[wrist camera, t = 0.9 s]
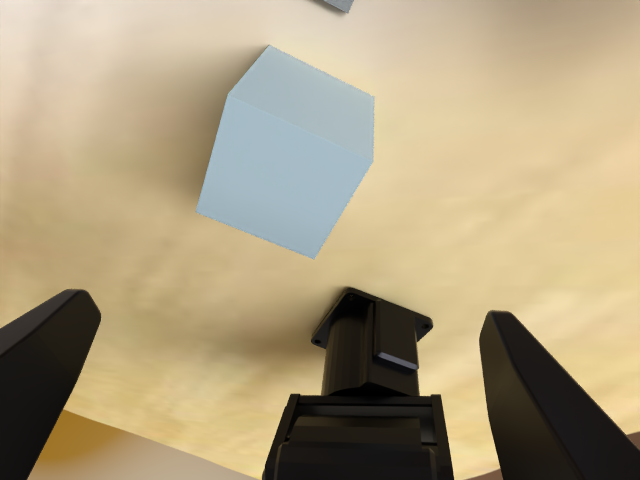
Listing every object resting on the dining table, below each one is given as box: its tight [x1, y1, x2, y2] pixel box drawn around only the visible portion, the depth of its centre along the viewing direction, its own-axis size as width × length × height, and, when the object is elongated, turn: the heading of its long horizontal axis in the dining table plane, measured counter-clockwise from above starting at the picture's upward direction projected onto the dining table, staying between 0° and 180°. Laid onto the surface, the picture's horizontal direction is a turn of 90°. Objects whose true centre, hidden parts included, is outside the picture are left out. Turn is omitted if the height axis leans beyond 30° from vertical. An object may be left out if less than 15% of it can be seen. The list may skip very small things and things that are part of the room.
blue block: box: [196, 45, 374, 259], centre depth 16 cm, size 5×5×6 cm
